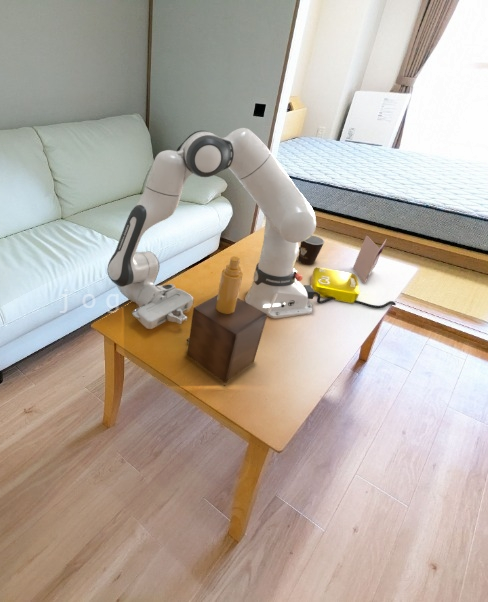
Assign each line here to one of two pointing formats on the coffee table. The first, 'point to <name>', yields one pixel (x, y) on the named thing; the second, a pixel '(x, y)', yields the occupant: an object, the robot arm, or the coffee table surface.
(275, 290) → the robot arm
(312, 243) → the coffee mug
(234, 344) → the cabinet
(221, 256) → the coffee table surface
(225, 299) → the bottle
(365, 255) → the greeting card
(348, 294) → the element tile
